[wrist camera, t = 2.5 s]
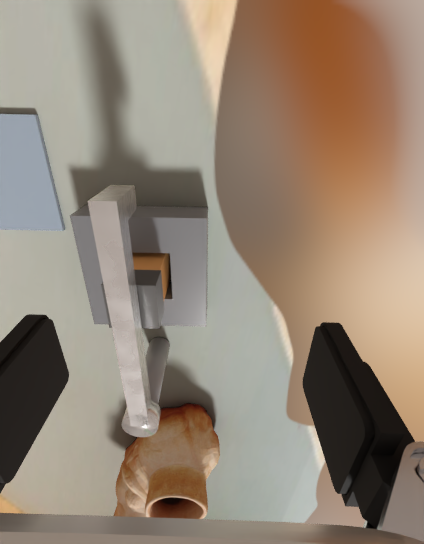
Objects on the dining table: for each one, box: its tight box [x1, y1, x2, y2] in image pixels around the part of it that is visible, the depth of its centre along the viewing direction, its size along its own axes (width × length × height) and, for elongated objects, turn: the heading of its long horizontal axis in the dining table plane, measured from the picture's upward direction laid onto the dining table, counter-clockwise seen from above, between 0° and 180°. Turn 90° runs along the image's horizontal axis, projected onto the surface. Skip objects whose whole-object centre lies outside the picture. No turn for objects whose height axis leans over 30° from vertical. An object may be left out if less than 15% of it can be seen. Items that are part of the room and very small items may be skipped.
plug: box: [101, 253, 171, 329], centre depth 32 cm, size 5×5×10 cm
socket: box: [70, 205, 208, 404], centre depth 34 cm, size 22×14×10 cm, turn 179°
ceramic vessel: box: [114, 403, 220, 519], centre depth 48 cm, size 14×26×15 cm, turn 151°
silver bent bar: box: [88, 185, 161, 437], centre depth 29 cm, size 27×4×5 cm, turn 179°
